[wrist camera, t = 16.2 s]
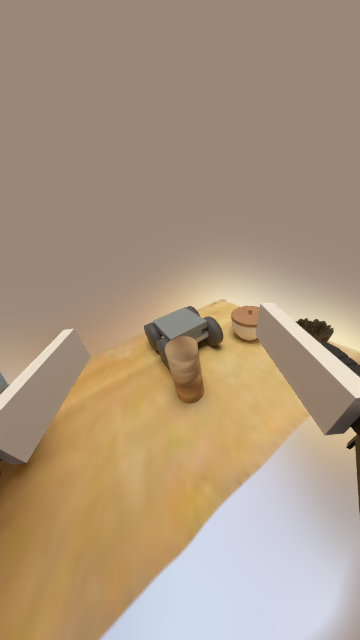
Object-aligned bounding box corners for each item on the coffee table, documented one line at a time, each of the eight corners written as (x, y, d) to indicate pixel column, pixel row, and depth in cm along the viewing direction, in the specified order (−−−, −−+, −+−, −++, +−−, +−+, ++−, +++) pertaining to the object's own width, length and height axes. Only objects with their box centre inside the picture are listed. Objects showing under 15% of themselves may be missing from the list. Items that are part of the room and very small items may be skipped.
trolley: (174, 378, 41) (167, 351, 36) (148, 342, 56) (141, 319, 51) (223, 348, 48) (223, 322, 43) (188, 323, 62) (185, 301, 57)
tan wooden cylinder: (186, 409, 34) (175, 365, 27) (172, 388, 39) (159, 345, 32) (209, 392, 37) (204, 347, 29) (193, 374, 41) (185, 332, 34)
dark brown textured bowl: (288, 356, 42) (295, 332, 37) (288, 339, 47) (294, 316, 43) (325, 364, 38) (337, 338, 34) (320, 344, 43) (330, 320, 39)
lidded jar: (274, 336, 49) (280, 310, 44) (248, 350, 45) (251, 324, 41) (247, 321, 57) (249, 298, 52) (224, 332, 54) (223, 308, 49)
